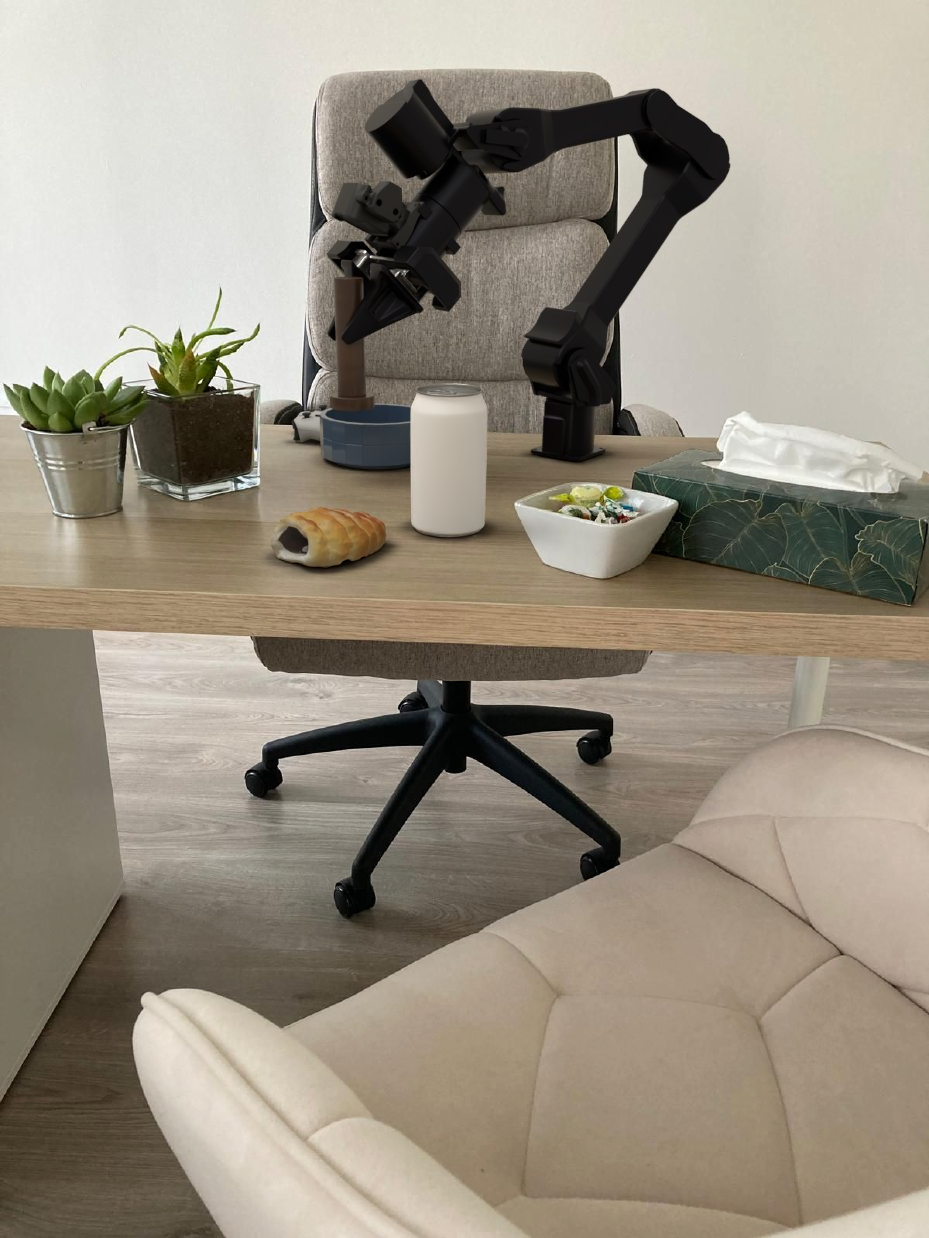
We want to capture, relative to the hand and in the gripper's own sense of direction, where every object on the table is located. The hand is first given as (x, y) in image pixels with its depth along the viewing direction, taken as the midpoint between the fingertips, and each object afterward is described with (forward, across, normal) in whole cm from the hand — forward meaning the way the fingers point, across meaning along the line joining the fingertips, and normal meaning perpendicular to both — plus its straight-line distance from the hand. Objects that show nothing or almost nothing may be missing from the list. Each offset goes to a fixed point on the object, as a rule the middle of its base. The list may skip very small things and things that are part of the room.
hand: (337, 339), depth 99 cm
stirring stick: (+4, 0, +6) cm, 7 cm away
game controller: (+6, -20, +15) cm, 26 cm away
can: (+9, +19, +11) cm, 24 cm away
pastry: (+18, +21, +2) cm, 27 cm away
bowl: (+5, -8, +15) cm, 18 cm away
